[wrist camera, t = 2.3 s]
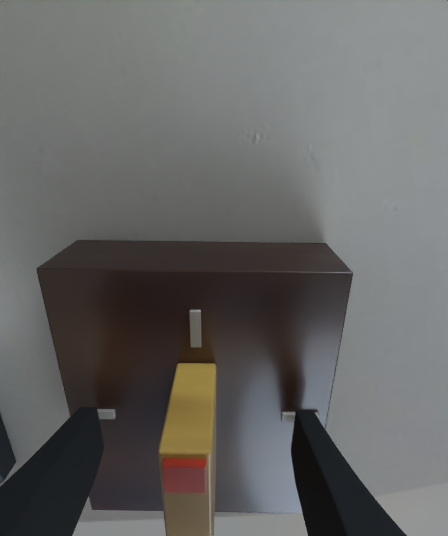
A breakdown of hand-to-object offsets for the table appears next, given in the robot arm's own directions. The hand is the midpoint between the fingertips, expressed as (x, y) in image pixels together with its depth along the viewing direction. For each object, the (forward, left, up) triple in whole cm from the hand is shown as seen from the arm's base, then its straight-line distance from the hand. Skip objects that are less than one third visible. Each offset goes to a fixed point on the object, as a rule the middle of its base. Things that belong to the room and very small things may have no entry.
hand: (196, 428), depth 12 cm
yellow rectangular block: (0, 0, -1) cm, 1 cm away
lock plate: (0, 0, -4) cm, 4 cm away
